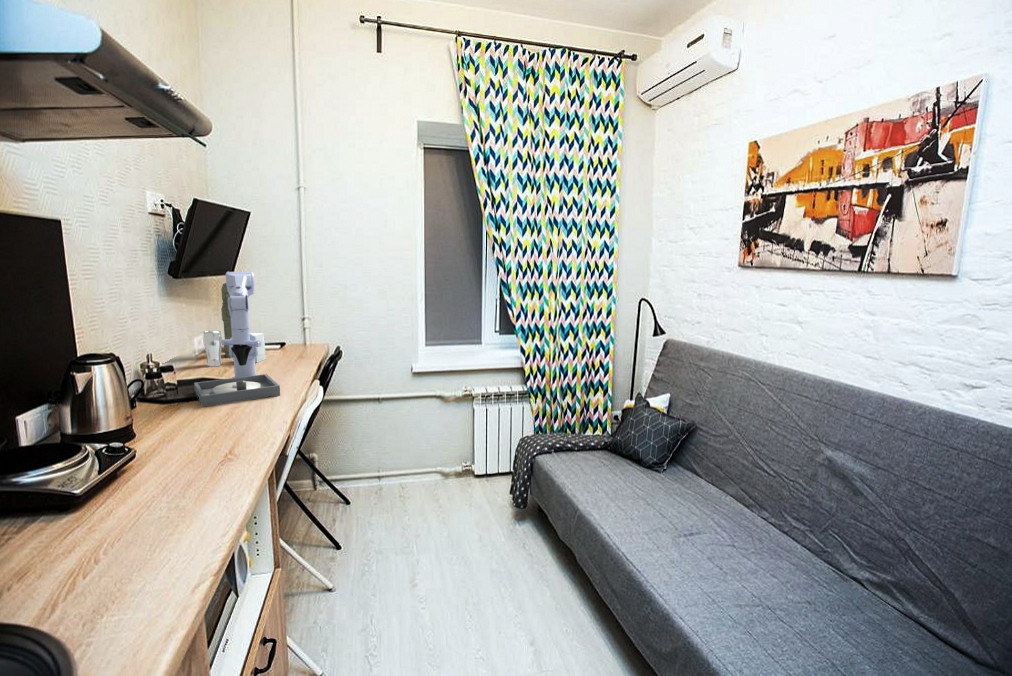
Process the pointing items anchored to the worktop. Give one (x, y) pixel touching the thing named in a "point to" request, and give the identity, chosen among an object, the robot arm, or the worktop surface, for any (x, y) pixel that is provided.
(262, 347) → the supplement box
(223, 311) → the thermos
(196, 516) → the worktop surface
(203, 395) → the bezel plate
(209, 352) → the beer glass
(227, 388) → the dial
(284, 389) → the worktop surface
